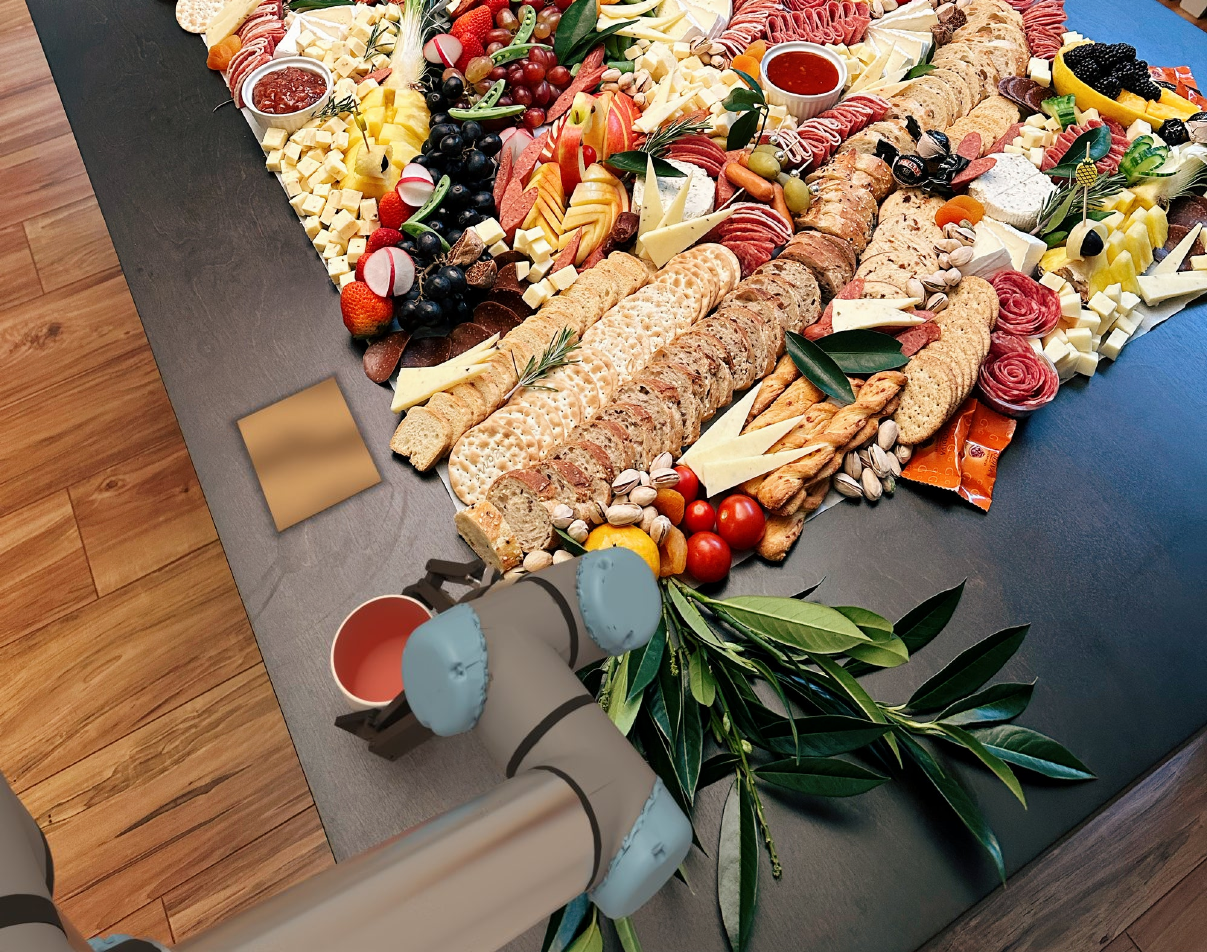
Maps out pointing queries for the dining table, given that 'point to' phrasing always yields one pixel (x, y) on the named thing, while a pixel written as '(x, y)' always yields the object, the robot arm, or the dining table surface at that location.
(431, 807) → the dining table surface
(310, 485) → the cork mat
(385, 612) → the cup
